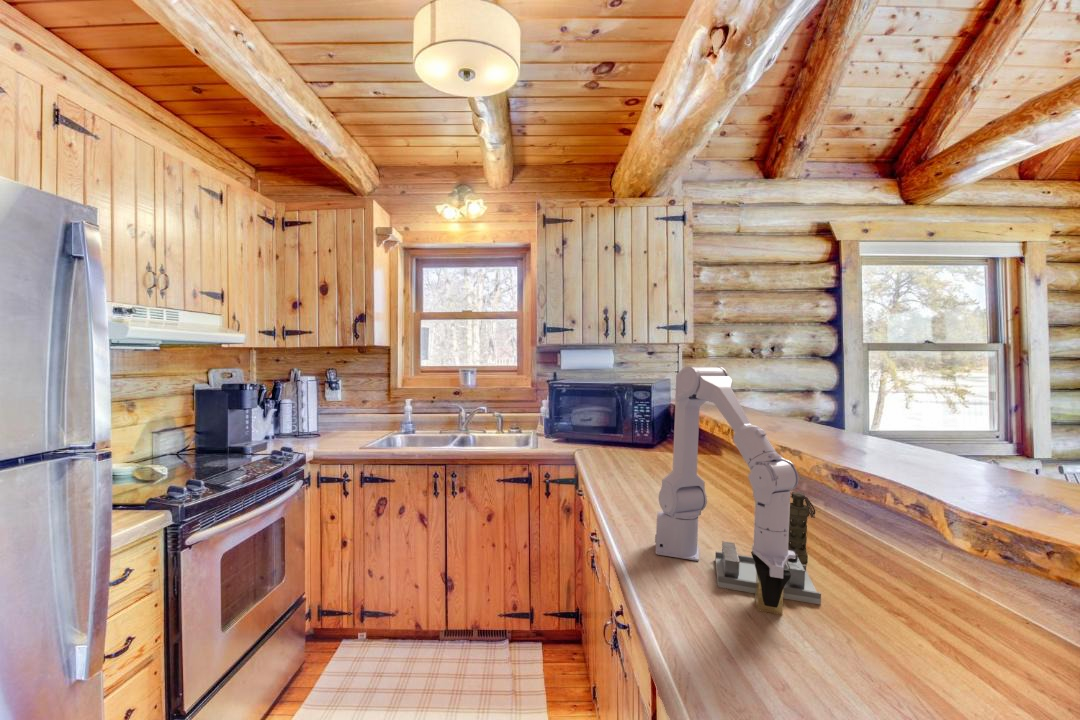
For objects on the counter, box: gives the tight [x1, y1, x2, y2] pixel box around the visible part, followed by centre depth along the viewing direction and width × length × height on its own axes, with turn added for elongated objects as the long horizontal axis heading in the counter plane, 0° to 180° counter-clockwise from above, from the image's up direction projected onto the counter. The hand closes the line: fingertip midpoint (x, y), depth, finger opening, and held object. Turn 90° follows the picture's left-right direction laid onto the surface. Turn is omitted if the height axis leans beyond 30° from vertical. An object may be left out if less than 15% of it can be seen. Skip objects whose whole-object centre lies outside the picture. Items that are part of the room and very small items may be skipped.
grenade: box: [788, 491, 816, 564], centre depth 108 cm, size 9×6×15 cm, turn 154°
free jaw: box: [783, 549, 805, 590], centre depth 95 cm, size 3×10×5 cm, turn 162°
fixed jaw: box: [721, 541, 739, 579], centre depth 99 cm, size 3×10×4 cm, turn 162°
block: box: [754, 571, 784, 616], centre depth 86 cm, size 4×4×6 cm
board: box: [714, 551, 822, 606], centre depth 97 cm, size 18×13×2 cm
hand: (768, 599), depth 86 cm, fingers closed on block, 4 cm apart
